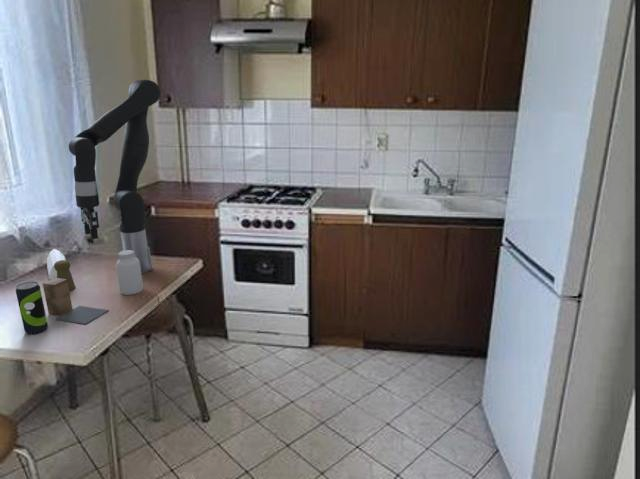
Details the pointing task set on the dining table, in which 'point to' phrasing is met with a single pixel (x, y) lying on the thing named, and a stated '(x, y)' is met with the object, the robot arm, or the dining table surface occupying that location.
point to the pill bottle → (129, 273)
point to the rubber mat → (82, 315)
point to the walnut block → (57, 296)
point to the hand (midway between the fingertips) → (91, 236)
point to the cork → (64, 272)
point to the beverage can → (31, 307)
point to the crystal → (53, 262)
